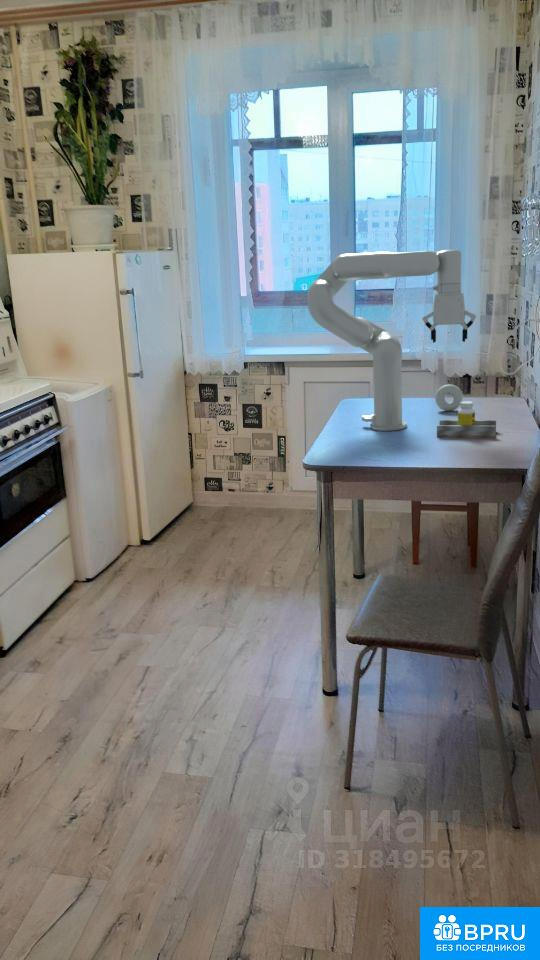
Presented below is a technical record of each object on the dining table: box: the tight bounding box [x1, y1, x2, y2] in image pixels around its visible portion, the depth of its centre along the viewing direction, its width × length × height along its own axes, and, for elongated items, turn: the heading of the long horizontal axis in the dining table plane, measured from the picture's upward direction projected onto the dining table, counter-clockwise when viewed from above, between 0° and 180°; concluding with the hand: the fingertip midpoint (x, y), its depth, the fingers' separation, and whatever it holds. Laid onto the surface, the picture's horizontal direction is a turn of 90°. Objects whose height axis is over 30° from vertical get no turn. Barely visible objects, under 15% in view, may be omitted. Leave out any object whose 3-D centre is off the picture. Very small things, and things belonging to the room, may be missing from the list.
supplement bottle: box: [457, 400, 476, 425], centre depth 248 cm, size 5×5×10 cm
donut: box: [434, 383, 464, 412], centre depth 284 cm, size 10×3×10 cm, turn 83°
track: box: [436, 419, 497, 439], centre depth 249 cm, size 18×9×4 cm, turn 72°
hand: (449, 341), depth 257 cm, fingers open, 9 cm apart
